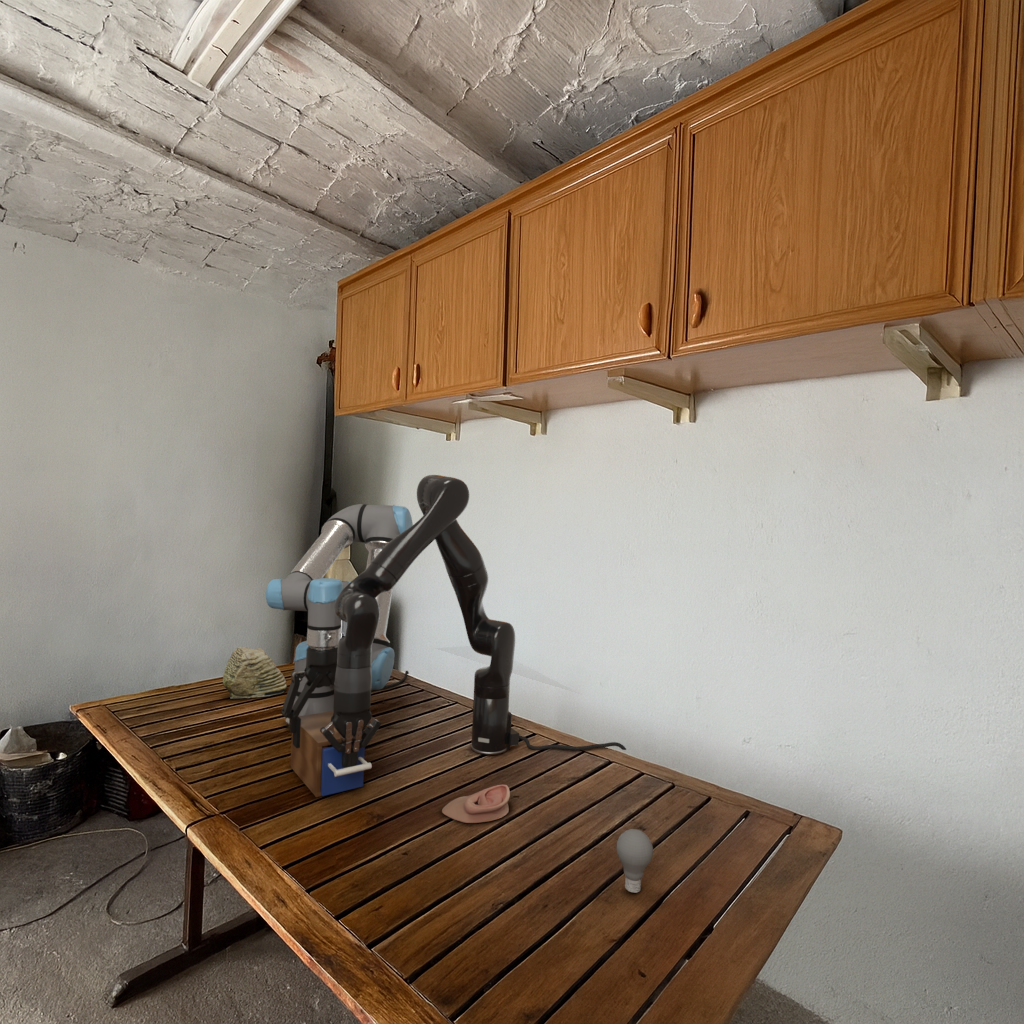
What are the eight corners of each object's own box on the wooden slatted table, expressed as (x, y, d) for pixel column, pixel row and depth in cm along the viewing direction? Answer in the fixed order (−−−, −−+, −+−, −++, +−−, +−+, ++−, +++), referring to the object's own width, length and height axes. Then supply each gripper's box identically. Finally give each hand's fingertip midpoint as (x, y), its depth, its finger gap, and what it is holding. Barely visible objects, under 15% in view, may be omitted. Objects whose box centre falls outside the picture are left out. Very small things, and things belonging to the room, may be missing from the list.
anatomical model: (437, 799, 126) (454, 775, 137) (436, 818, 126) (453, 793, 138) (502, 808, 124) (514, 783, 135) (501, 828, 124) (513, 801, 135)
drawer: (373, 796, 133) (375, 750, 133) (331, 807, 128) (333, 759, 127) (335, 759, 151) (337, 719, 150) (297, 767, 145) (299, 725, 145)
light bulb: (610, 879, 108) (613, 822, 108) (644, 879, 109) (647, 822, 109) (619, 902, 102) (622, 840, 102) (655, 901, 103) (658, 840, 103)
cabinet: (361, 786, 139) (363, 734, 139) (315, 797, 133) (318, 742, 133) (332, 757, 154) (334, 710, 153) (290, 766, 148) (292, 717, 147)
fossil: (218, 695, 195) (220, 647, 195) (278, 685, 208) (279, 640, 207) (228, 703, 189) (230, 653, 188) (289, 692, 201) (290, 645, 201)
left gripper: (277, 655, 137) (273, 757, 137) (376, 644, 150) (372, 737, 150) (268, 647, 143) (264, 745, 143) (363, 638, 156) (360, 727, 156)
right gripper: (328, 695, 125) (324, 782, 125) (390, 686, 133) (386, 769, 133) (315, 685, 131) (311, 769, 131) (375, 678, 139) (371, 756, 139)
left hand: (319, 741), depth 147 cm, fingers closed on cabinet, 10 cm apart
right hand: (349, 768), depth 132 cm, fingers closed
